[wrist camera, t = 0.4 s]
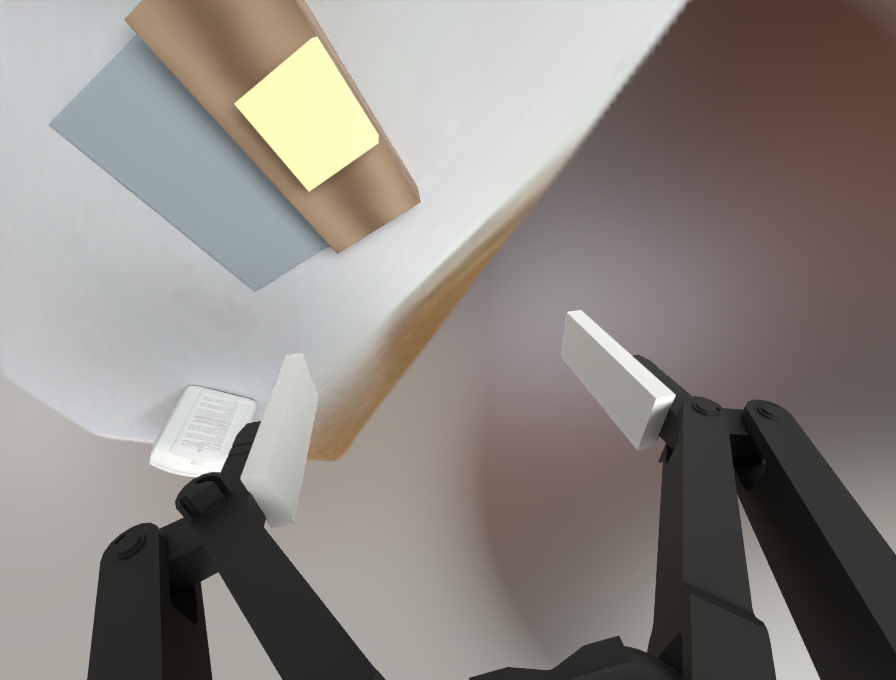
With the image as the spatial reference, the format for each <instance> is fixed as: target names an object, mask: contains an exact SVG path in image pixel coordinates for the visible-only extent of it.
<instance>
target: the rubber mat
mask: <svg viewBox="0 0 896 680" xmlns="http://www.w3.org/2000/svg"><path fill="white" fill-rule="evenodd" d="M49 125H50V126H51V127H52V128H53V129H55V130H56V131H57V132H58V133H60V134H61V135H62V136H63V137H65V138H66V139H67V140H68V141H70V142H71V143H72V144H73V145H74V146H76V147H77V148H78V149H79V150H81V151H82V152H83V153H84V154H86V155H87V156H88V157H89V158H91V159H92V160H93V161H94V162H95V163H97V164H98V165H99V166H100V167H102V168H103V169H104V170H105V171H107V172H108V173H109V174H110V175H112V176H113V177H114V178H115V179H116V180H118V181H119V182H120V183H121V184H123V185H124V186H125V187H126V188H128V189H129V190H130V191H131V192H133V193H134V194H135V195H136V196H138V197H139V198H140V199H141V200H142V201H144V202H145V203H146V204H147V205H149V206H150V207H151V208H152V209H154V210H155V211H156V212H157V213H159V214H160V215H161V216H162V217H163V218H165V219H166V220H167V221H168V222H170V223H171V224H172V225H173V226H175V227H176V228H177V229H178V230H180V231H181V232H182V233H183V234H184V235H186V236H187V237H188V238H189V239H191V240H192V241H193V242H194V243H196V244H197V245H198V246H199V247H201V248H202V249H203V250H204V251H206V252H207V253H208V254H209V255H210V256H212V257H213V258H214V259H215V260H217V261H218V262H219V263H220V264H222V265H223V266H224V267H225V268H227V269H228V270H229V271H230V272H231V273H233V274H234V275H235V276H236V277H238V278H239V279H240V280H241V281H243V282H244V283H245V284H246V285H248V286H249V287H250V288H251V289H252V290H254V291H255V292H256V291H257V290H259V289H261V288H262V287H264V286H265V285H267V284H268V283H270V282H272V281H273V280H275V279H276V278H278V277H279V276H281V275H282V274H284V273H286V272H287V271H289V270H290V269H292V268H293V267H295V266H297V265H298V264H300V263H301V262H303V261H304V260H306V259H308V258H309V257H311V256H312V255H314V254H315V253H317V252H319V251H320V250H322V249H323V248H325V247H326V246H328V245H329V244H328V243H327V242H326V241H325V239H324V238H323V237H322V236H321V235H320V234H319V233H318V232H317V231H316V230H315V229H314V227H313V226H312V225H311V224H310V223H309V222H308V221H307V220H306V219H305V218H304V216H303V215H302V214H301V213H300V212H299V211H298V210H297V209H296V208H295V207H294V205H293V204H292V203H291V202H290V201H289V200H288V199H287V198H286V197H285V196H284V195H283V193H282V192H281V191H280V190H279V189H278V188H277V187H276V186H275V185H274V184H273V182H272V181H271V180H270V179H269V178H268V177H267V176H266V175H265V174H264V173H263V171H262V170H261V169H260V168H259V167H258V166H257V165H256V164H255V163H254V162H253V161H252V159H251V158H250V157H249V156H248V155H247V154H246V153H245V152H244V151H243V150H242V148H241V147H240V146H239V145H238V144H237V143H236V142H235V141H234V140H233V139H232V137H231V136H230V135H229V134H228V133H227V132H226V131H225V130H224V129H223V128H222V127H221V125H220V124H219V123H218V122H217V121H216V120H215V119H214V118H213V117H212V116H211V114H210V113H209V112H208V111H207V110H206V109H205V108H204V107H203V106H202V105H201V103H200V102H199V101H198V100H197V99H196V98H195V97H194V96H193V95H192V94H191V93H190V91H189V90H188V89H187V88H186V87H185V86H184V85H183V84H182V83H181V82H180V80H179V79H178V78H177V77H176V76H175V75H174V74H173V73H172V72H171V71H170V69H169V68H168V67H167V66H166V65H165V64H164V63H163V62H162V61H161V60H160V58H159V57H158V56H157V55H156V54H155V53H154V52H153V51H152V50H151V49H150V48H149V46H148V45H147V44H146V43H145V42H144V41H143V40H142V39H141V38H140V37H139V35H138V34H137V35H136V36H135V37H134V38H133V39H132V40H131V41H130V42H129V43H128V44H127V45H126V46H125V47H124V48H123V50H122V51H121V52H120V53H119V54H118V55H117V56H116V57H115V58H114V59H113V60H112V61H111V62H110V63H109V64H108V65H107V66H106V67H105V68H104V69H103V70H102V71H101V72H100V73H99V74H98V75H97V76H96V77H95V78H94V79H93V80H92V81H91V82H90V83H89V84H88V85H87V86H86V87H85V88H84V89H83V90H82V91H81V92H80V93H79V94H78V95H77V96H76V97H75V98H74V99H73V100H72V101H71V102H70V103H69V105H68V106H67V107H66V108H65V109H64V110H63V111H62V112H61V113H60V114H59V115H58V116H57V117H56V118H55V119H54V120H53V121H52V122H51V123H50V124H49Z"/></svg>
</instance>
